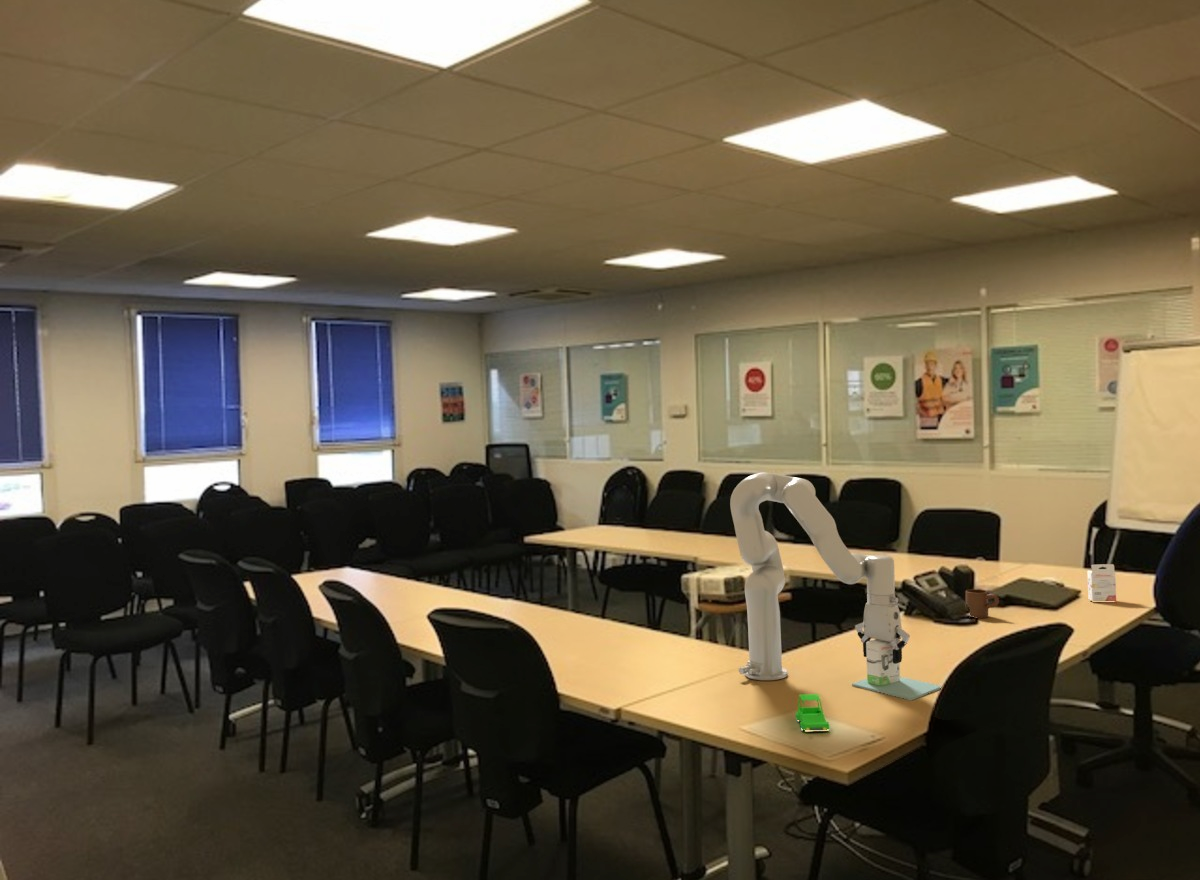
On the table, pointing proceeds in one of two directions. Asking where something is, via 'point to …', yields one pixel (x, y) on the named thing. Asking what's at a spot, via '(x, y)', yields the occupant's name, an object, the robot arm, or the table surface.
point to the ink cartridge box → (1101, 583)
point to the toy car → (811, 714)
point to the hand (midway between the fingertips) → (882, 659)
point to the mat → (901, 688)
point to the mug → (980, 602)
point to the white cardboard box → (881, 663)
